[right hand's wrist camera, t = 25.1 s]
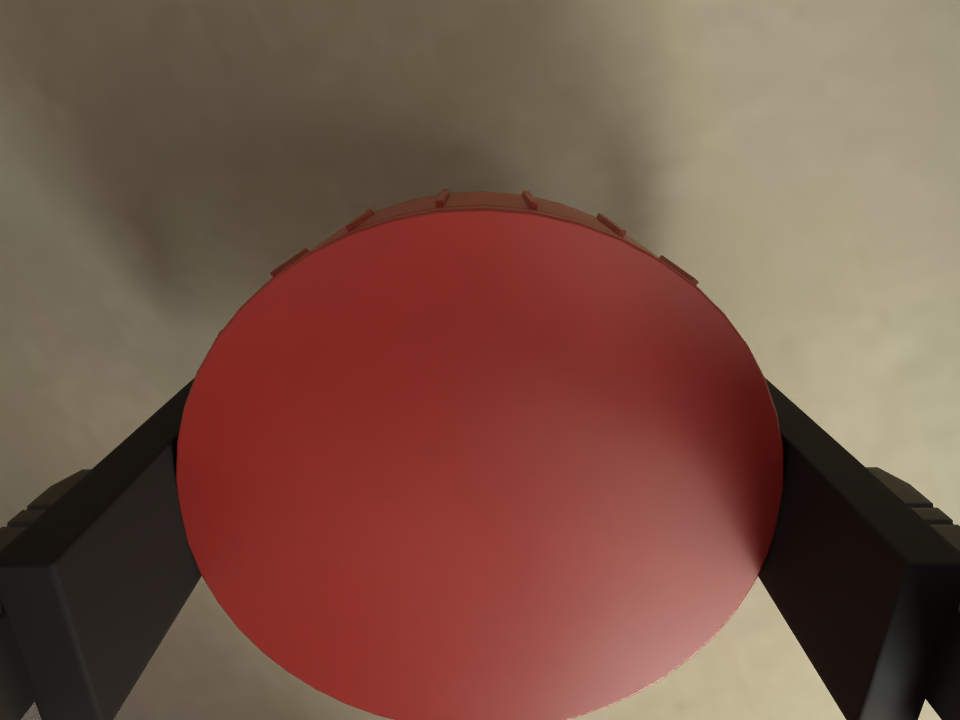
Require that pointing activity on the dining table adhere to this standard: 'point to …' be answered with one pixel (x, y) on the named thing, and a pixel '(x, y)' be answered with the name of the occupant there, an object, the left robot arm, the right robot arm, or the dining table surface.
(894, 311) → the dining table surface
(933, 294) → the dining table surface
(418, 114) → the dining table surface
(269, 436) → the lid
